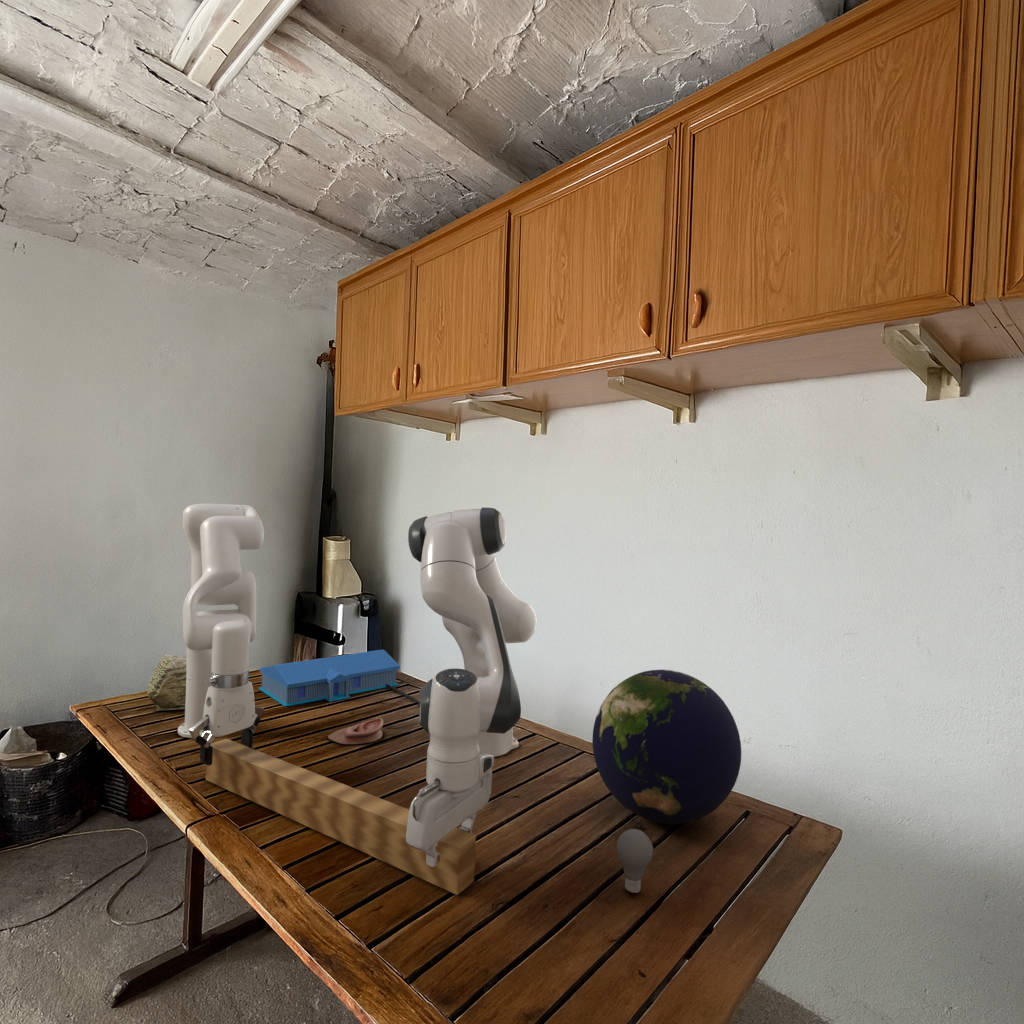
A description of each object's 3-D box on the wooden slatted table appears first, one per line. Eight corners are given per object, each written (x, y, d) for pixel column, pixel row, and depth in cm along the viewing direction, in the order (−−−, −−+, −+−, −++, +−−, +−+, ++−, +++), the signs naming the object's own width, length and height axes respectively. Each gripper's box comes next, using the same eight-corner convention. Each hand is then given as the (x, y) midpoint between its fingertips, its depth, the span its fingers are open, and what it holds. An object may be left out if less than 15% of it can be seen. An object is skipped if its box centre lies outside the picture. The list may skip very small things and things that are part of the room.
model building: (289, 709, 186) (291, 675, 185) (258, 688, 204) (259, 657, 204) (403, 687, 212) (405, 657, 212) (366, 670, 230) (368, 643, 230)
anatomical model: (322, 726, 163) (343, 712, 174) (321, 741, 163) (342, 726, 174) (370, 732, 160) (388, 717, 171) (370, 747, 160) (388, 732, 171)
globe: (571, 831, 124) (578, 679, 123) (607, 773, 151) (613, 648, 151) (733, 872, 112) (742, 704, 112) (740, 800, 140) (747, 665, 139)
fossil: (144, 707, 182) (145, 655, 182) (212, 696, 194) (213, 647, 194) (151, 716, 175) (153, 662, 175) (221, 703, 188) (223, 653, 188)
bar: (205, 779, 139) (206, 744, 139) (225, 772, 143) (226, 738, 143) (457, 895, 103) (459, 847, 102) (474, 881, 107) (476, 835, 107)
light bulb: (610, 879, 108) (613, 822, 108) (644, 879, 109) (647, 822, 109) (619, 902, 102) (622, 840, 102) (655, 901, 103) (658, 840, 103)
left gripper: (202, 692, 129) (199, 774, 129) (274, 673, 144) (271, 748, 144) (181, 684, 133) (178, 764, 133) (253, 667, 147) (250, 739, 148)
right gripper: (431, 799, 96) (427, 889, 96) (499, 753, 114) (496, 829, 114) (398, 788, 99) (395, 875, 99) (469, 745, 117) (466, 819, 117)
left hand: (226, 755), depth 139 cm, fingers open, 9 cm apart
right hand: (449, 850), depth 107 cm, fingers open, 8 cm apart
